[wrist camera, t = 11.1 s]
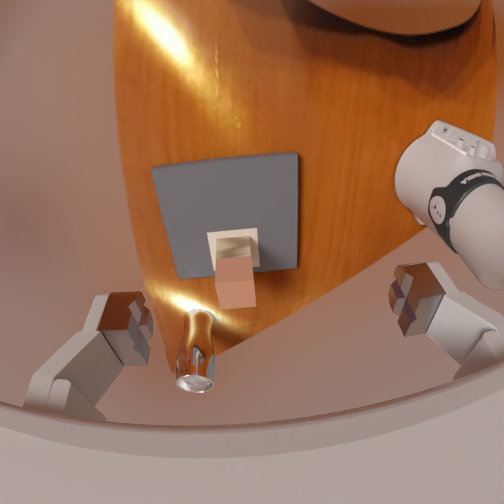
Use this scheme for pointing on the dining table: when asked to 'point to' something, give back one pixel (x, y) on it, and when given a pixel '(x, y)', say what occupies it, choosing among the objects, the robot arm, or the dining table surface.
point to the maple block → (233, 247)
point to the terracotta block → (235, 282)
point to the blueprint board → (230, 210)
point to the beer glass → (196, 353)
